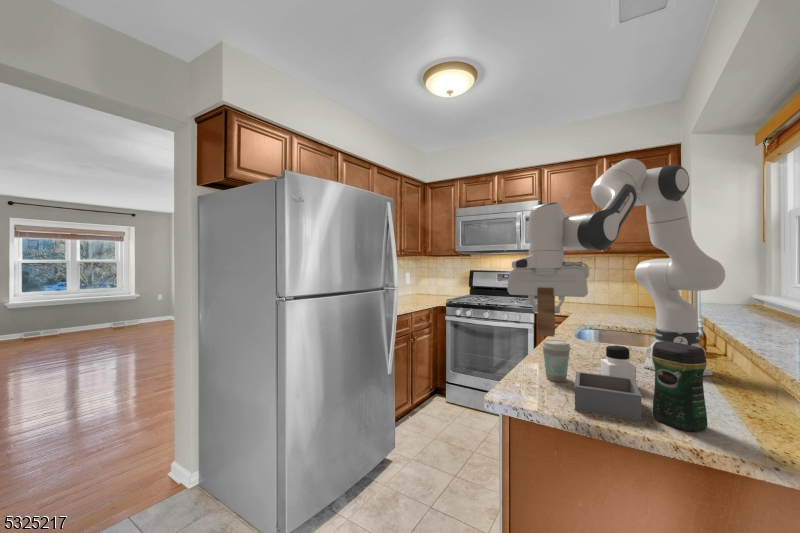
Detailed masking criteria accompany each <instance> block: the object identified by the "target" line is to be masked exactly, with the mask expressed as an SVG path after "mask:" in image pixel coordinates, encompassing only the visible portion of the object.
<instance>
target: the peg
mask: <svg viewBox="0 0 800 533" xmlns="http://www.w3.org/2000/svg"><path fill="white" fill-rule="evenodd" d="M537 305H538V312H537V336H541V337H542V336H543V337H553V338H554V337H555V335H556V322H555V321H556V313H554V306H556V296H554V288H537Z"/></svg>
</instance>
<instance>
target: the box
mask: <svg viewBox="0 0 800 533" xmlns="http://www.w3.org/2000/svg"><path fill="white" fill-rule="evenodd" d="M574 379H575V380H574V410H575V411H578V412H579V411H580V412H585V413H589V414H590V413H591V414H597V415H604V416H608V417H609V416H610V417H612V418H613V417H614V418H620V419H625V420H632V421H639V422H642V394H641V392H640V389H639V387H638V385H637V381H636V382H635V379H633V378H625V377H617V376H609V375H601V373H591V372H585V371H584V372H583V371H576V372H575V378H574Z"/></svg>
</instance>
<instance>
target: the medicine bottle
mask: <svg viewBox="0 0 800 533" xmlns="http://www.w3.org/2000/svg"><path fill="white" fill-rule="evenodd" d="M636 367H637V366H636V365H634V364H633V363H631V362H630V349H629V347H626V346H624V345H617V344H611V345H607V346H606V347H605V358H601V359H600V374H601V375H609V376H617V377H625V378H633V379H635V382H636V383H637V379H636V378H637V377H636V375H637V368H636Z"/></svg>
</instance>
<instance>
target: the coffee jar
mask: <svg viewBox="0 0 800 533" xmlns="http://www.w3.org/2000/svg"><path fill="white" fill-rule="evenodd" d="M701 347H702V346H701ZM701 347H696V346H691V345H686V344H682V343H676V342H669V341H664V342H656V343H655V344H654V346H653V351H652V360H653V363H654V367H655V370H654V388H653V389H654V390H653V399H652V400H653V401H652V416H653V417H654V418H655V420H658V421H660V422H662V423H664V424H667V425H669V426H672V427H674V428H678V429H681V430H684V431H695V432H701V431H703V430H705V429H706V428H708V415H707V414H708V413H707V408H706V407H707V406H706V400H705V398H706V397H705V392H704V391H705V390H704V376H703V373H704V370H705V368H706V369H707V363H708V362H707V358H706V357H707V356H706V357H705V355H706V351H705V352H704V350H703V349H704V347H702V348H701Z"/></svg>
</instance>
